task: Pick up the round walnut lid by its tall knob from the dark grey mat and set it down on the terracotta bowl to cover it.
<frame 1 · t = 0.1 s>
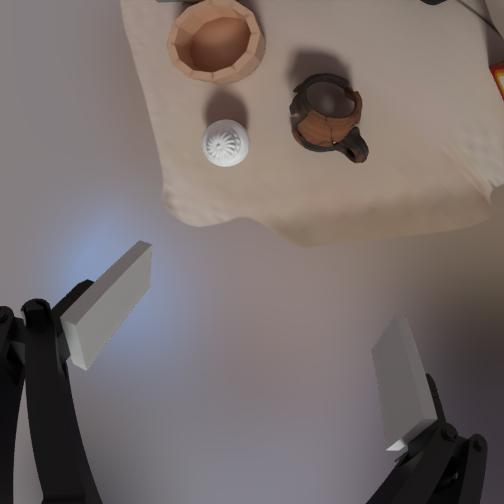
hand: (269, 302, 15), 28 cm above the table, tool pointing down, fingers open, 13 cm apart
terracotta bowl: (224, 47, 32), on the table
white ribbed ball: (232, 140, 39), on the table
pottery mug: (328, 121, 35), on the table
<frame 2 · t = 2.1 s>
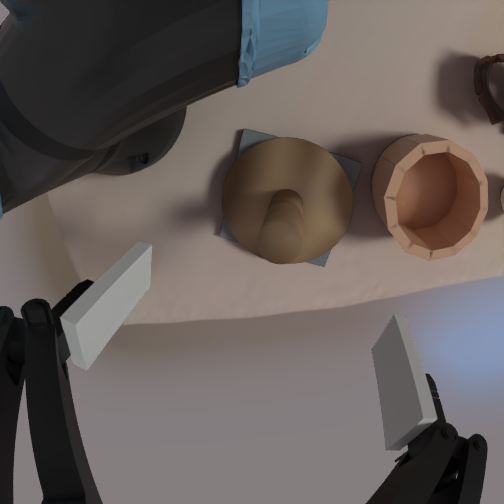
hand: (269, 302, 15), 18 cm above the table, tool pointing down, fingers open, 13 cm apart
walnut lid: (287, 201, 30), point 1 cm above the table, touching grey mat
grey mat: (288, 199, 30), on the table
terracotta bowl: (419, 186, 27), on the table
pottery mug: (502, 92, 20), on the table
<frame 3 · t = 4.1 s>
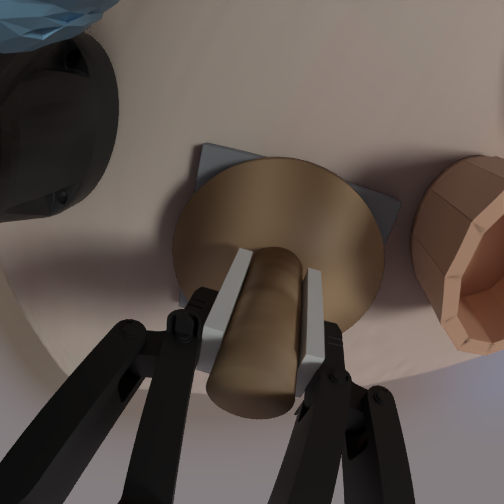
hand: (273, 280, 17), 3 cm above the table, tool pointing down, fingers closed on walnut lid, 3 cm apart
walnut lid: (277, 261, 19), point 1 cm above the table, touching gripper
grey mat: (278, 256, 19), on the table
terracotta bowl: (477, 234, 16), on the table
when the fingers open (9 cm above the table, at t = 7.2 s): walnut lid stays where it is, resting on terracotta bowl.
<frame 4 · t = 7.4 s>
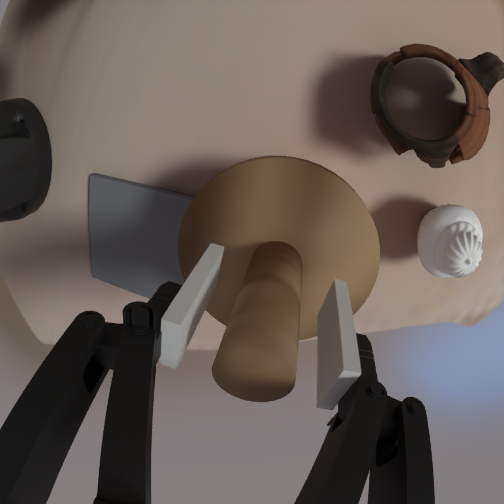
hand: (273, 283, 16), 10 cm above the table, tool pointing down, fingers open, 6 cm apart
walnut lid: (278, 255, 19), point 6 cm above the table, touching terracotta bowl
grey mat: (140, 242, 28), on the table
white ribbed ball: (434, 224, 23), on the table
pottery mug: (431, 101, 18), on the table
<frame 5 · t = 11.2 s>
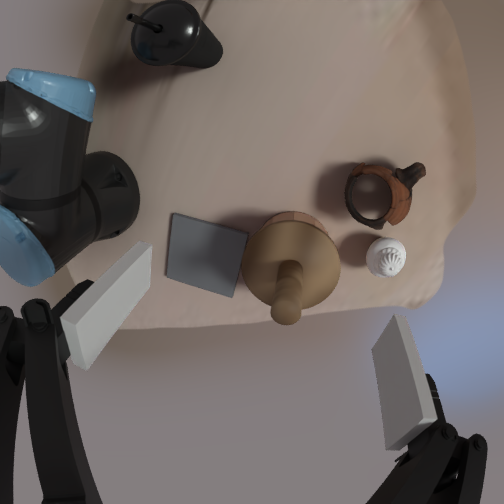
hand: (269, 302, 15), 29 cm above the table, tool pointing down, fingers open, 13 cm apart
walnut lid: (291, 265, 39), point 6 cm above the table, touching terracotta bowl
grey mat: (204, 255, 48), on the table
terracotta bowl: (293, 246, 45), on the table
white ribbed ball: (380, 246, 42), on the table
pottery mug: (382, 185, 38), on the table
drinking cup: (206, 52, 34), on the table
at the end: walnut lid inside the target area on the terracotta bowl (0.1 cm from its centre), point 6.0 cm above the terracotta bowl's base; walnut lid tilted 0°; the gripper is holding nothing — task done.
